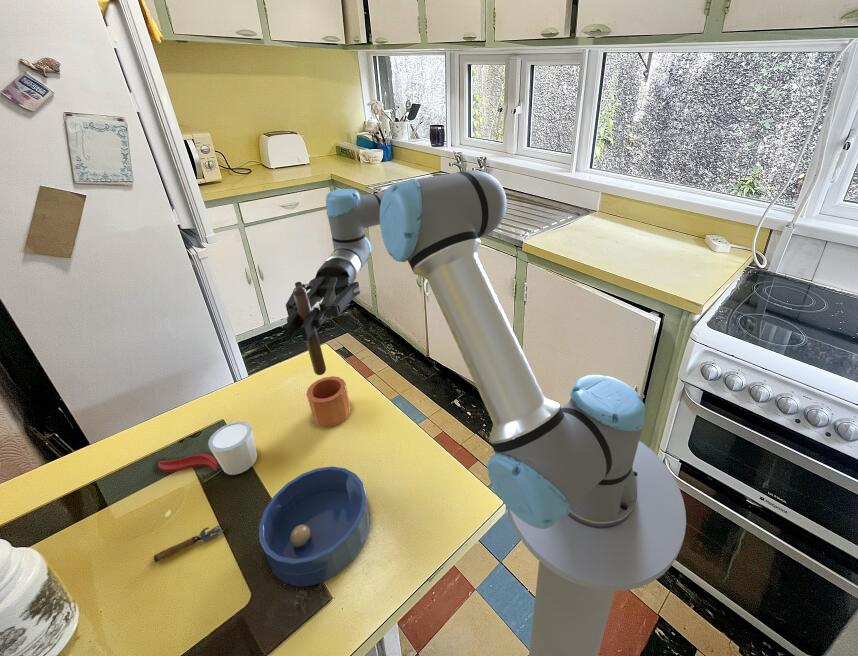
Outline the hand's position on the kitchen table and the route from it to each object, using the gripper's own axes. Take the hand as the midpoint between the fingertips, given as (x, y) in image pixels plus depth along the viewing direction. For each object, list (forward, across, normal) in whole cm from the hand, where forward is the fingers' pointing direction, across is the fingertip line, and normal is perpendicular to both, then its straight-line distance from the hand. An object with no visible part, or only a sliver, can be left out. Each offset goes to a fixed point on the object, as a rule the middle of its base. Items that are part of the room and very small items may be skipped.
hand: (295, 333), depth 71 cm
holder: (-7, +1, -26) cm, 27 cm away
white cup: (+5, +14, -26) cm, 30 cm away
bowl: (+18, -6, -26) cm, 32 cm away
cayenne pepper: (+5, +23, -26) cm, 35 cm away
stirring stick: (-6, 0, -13) cm, 14 cm away
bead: (+20, -4, -26) cm, 33 cm away
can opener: (+20, +13, -26) cm, 36 cm away
